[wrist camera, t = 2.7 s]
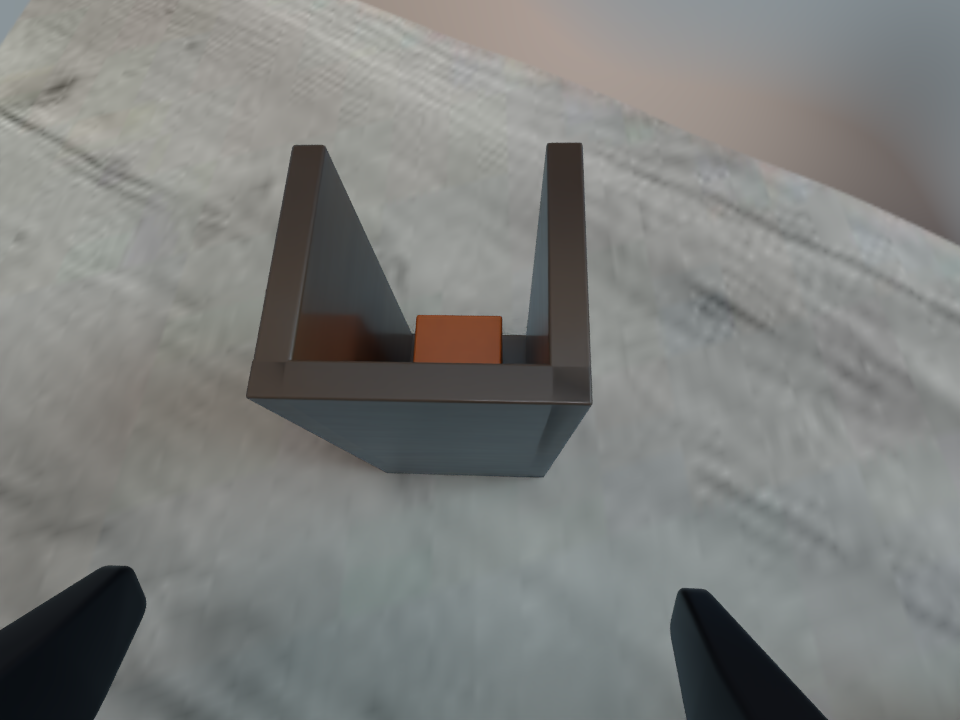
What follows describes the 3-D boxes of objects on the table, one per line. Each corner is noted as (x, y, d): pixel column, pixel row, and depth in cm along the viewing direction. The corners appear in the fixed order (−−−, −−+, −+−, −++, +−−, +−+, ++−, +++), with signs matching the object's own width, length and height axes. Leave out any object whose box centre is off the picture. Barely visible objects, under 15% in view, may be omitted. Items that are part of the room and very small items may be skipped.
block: (501, 426, 21) (500, 399, 17) (429, 425, 21) (409, 397, 17) (502, 358, 22) (501, 315, 18) (433, 357, 22) (416, 314, 18)
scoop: (544, 477, 21) (592, 405, 10) (386, 472, 22) (244, 398, 10) (543, 341, 23) (582, 141, 11) (398, 339, 24) (291, 142, 12)
